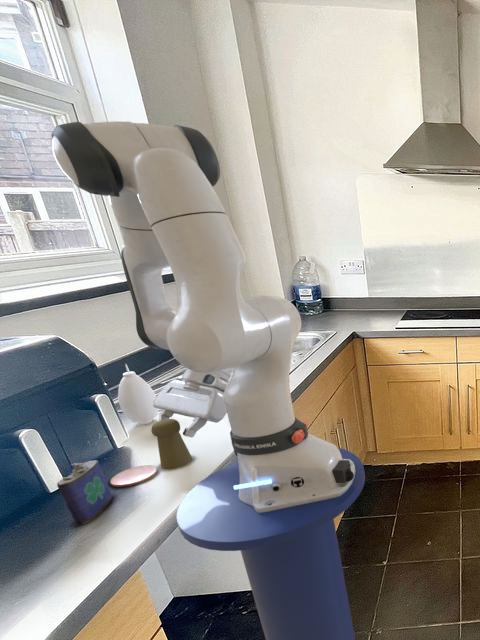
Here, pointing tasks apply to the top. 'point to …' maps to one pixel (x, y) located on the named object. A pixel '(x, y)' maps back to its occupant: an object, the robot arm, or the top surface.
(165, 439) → the cork
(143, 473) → the coaster
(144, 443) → the top surface
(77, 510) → the flask
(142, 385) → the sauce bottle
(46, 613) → the top surface
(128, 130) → the robot arm
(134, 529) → the top surface
